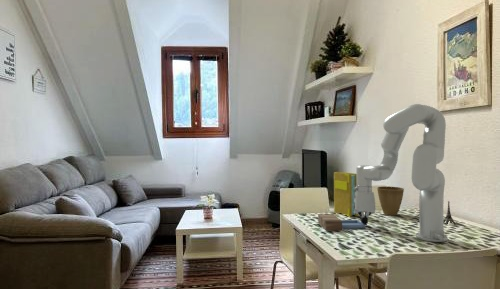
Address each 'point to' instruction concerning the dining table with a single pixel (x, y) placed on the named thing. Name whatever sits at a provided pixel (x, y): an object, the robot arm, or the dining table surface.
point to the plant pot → (390, 199)
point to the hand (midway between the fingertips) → (364, 224)
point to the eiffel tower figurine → (449, 216)
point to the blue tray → (352, 224)
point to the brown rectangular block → (330, 222)
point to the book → (344, 192)
